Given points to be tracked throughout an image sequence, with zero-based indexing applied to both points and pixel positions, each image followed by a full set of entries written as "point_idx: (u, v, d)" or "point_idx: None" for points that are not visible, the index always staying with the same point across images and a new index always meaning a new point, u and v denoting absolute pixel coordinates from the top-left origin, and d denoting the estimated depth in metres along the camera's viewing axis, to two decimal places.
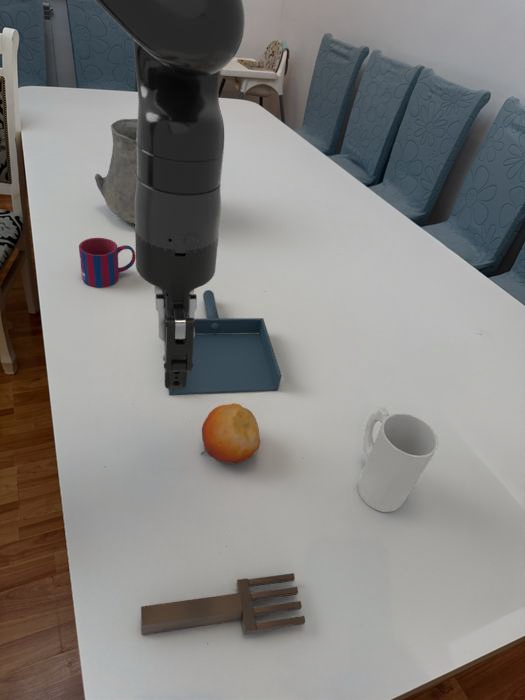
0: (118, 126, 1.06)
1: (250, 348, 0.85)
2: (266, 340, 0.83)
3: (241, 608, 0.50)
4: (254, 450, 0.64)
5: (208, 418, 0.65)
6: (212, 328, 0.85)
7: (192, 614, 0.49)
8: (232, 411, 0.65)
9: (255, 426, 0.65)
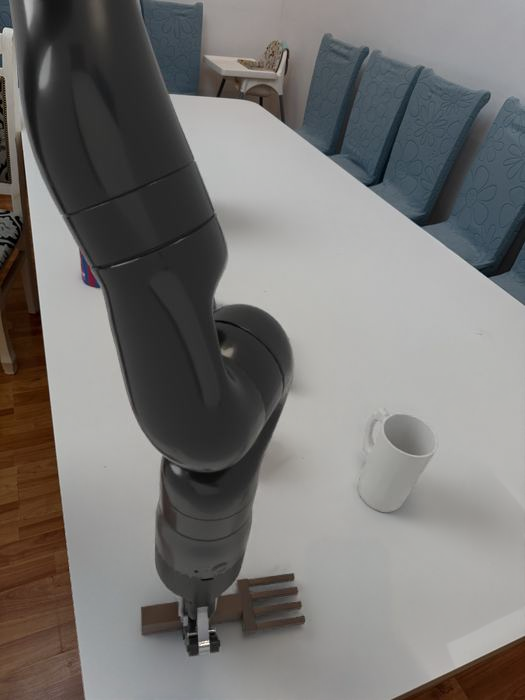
0: None
1: None
2: None
3: (241, 608, 0.50)
4: None
5: None
6: None
7: None
8: None
9: None
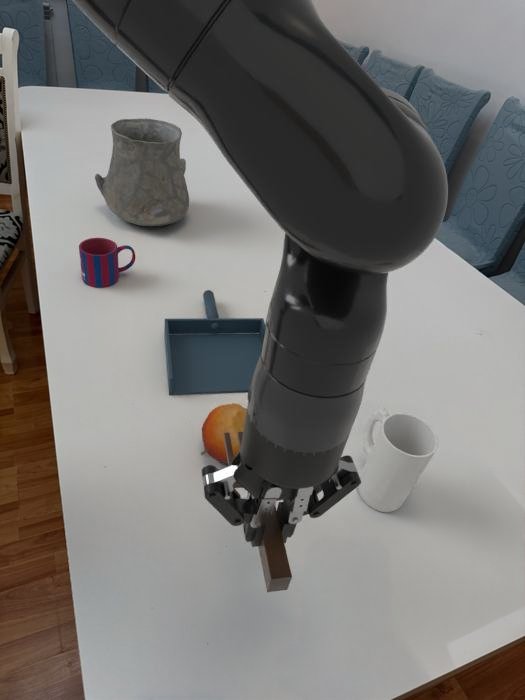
0: (118, 126, 1.06)
1: (250, 348, 0.85)
2: None
3: None
4: None
5: (208, 418, 0.65)
6: (212, 328, 0.85)
7: (276, 522, 0.45)
8: (232, 411, 0.65)
9: None
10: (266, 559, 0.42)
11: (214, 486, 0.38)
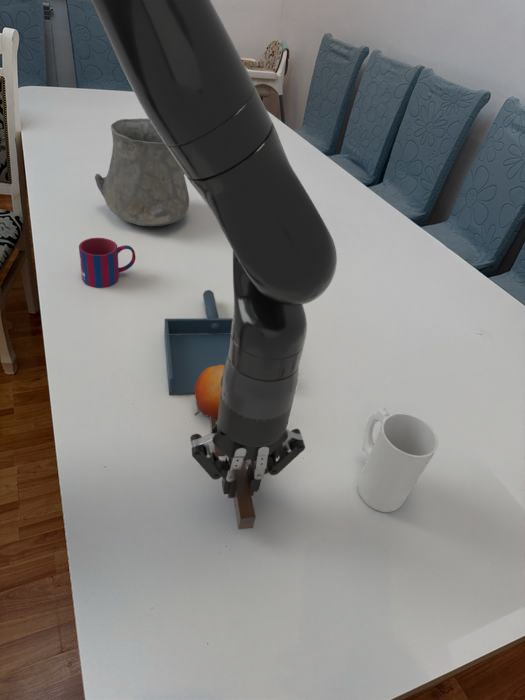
0: (118, 126, 1.06)
1: None
2: None
3: None
4: None
5: (200, 379, 0.70)
6: (212, 328, 0.85)
7: (246, 480, 0.60)
8: (221, 370, 0.70)
9: None
10: (237, 505, 0.58)
11: (199, 447, 0.54)
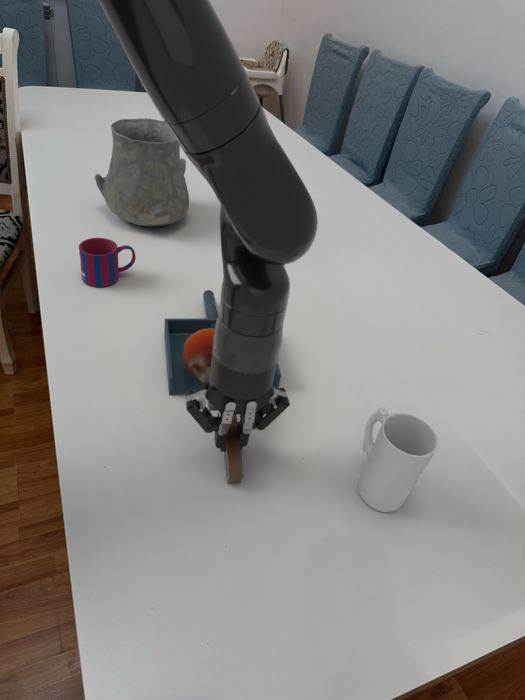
0: (118, 126, 1.06)
1: None
2: None
3: None
4: None
5: None
6: None
7: (237, 439, 0.65)
8: None
9: None
10: (228, 464, 0.63)
11: (192, 402, 0.59)
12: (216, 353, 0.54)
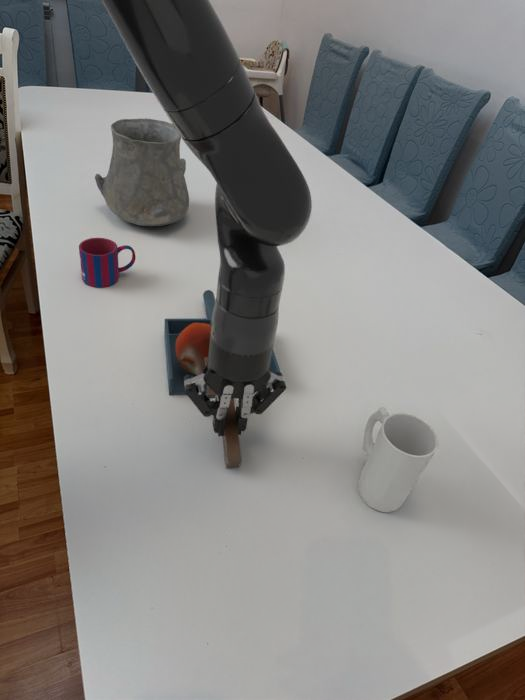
0: (118, 126, 1.06)
1: None
2: None
3: None
4: None
5: None
6: None
7: (235, 425, 0.67)
8: None
9: None
10: (226, 449, 0.65)
11: (191, 385, 0.61)
12: (214, 336, 0.56)
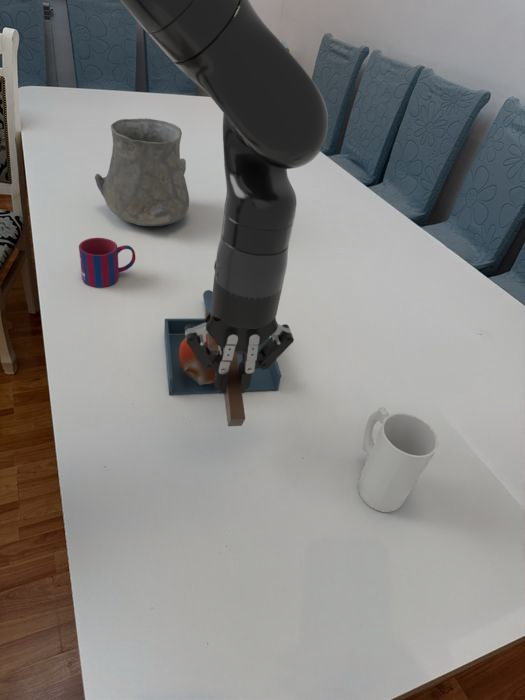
0: (118, 126, 1.06)
1: None
2: (266, 340, 0.83)
3: None
4: None
5: None
6: None
7: (238, 382, 0.63)
8: None
9: None
10: (229, 406, 0.61)
11: (193, 334, 0.57)
12: (218, 277, 0.52)
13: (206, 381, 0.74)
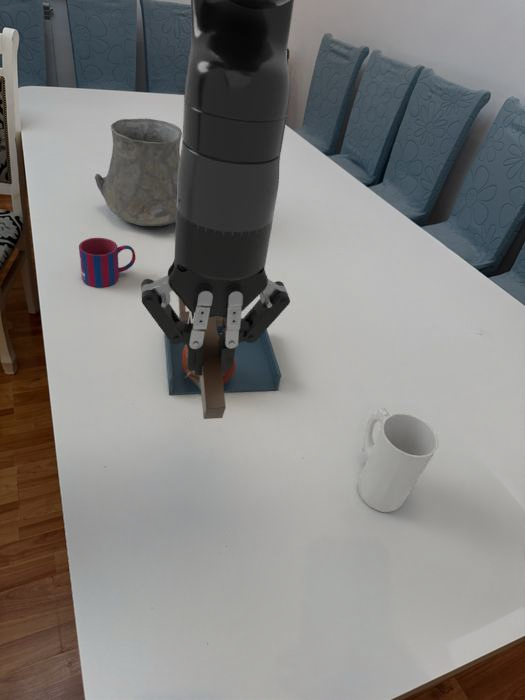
0: (118, 126, 1.06)
1: (250, 348, 0.85)
2: (266, 340, 0.83)
3: (213, 318, 0.50)
4: None
5: None
6: None
7: (217, 360, 0.48)
8: None
9: None
10: (204, 391, 0.46)
11: (150, 292, 0.41)
12: (180, 205, 0.36)
13: None
